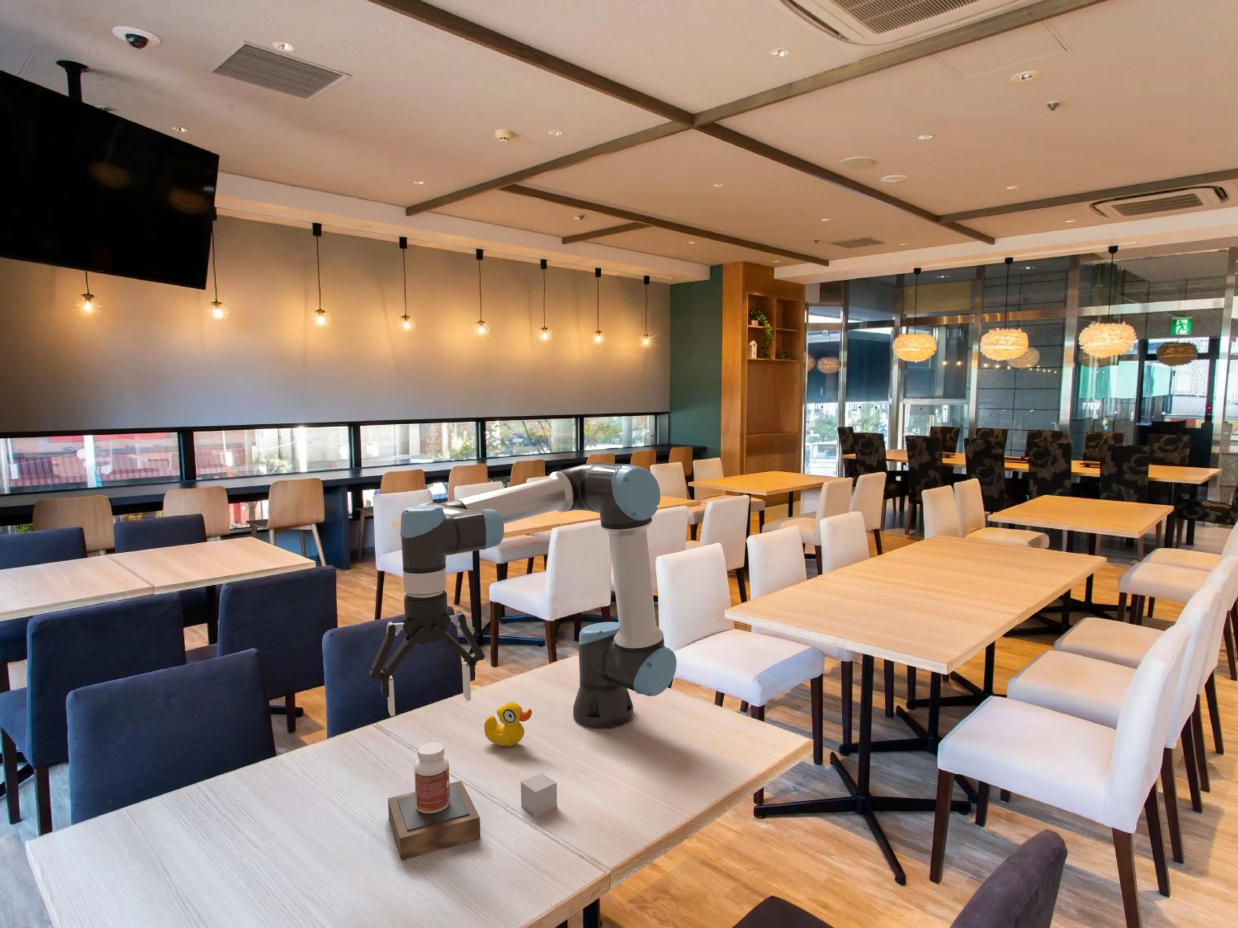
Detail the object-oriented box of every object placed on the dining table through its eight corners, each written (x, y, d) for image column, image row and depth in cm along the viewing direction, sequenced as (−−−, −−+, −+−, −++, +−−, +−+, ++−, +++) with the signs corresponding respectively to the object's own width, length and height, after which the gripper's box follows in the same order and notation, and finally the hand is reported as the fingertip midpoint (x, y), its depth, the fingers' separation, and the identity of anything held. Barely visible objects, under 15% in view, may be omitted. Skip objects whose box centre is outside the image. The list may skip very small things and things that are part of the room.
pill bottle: (455, 808, 132) (453, 750, 131) (422, 818, 129) (420, 759, 128) (443, 792, 138) (441, 737, 137) (411, 802, 134) (409, 745, 133)
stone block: (542, 796, 144) (541, 772, 144) (557, 806, 140) (556, 782, 140) (521, 805, 141) (520, 781, 140) (535, 816, 137) (535, 791, 137)
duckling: (536, 741, 167) (535, 699, 166) (528, 752, 162) (527, 709, 161) (489, 737, 169) (488, 696, 168) (481, 748, 164) (479, 706, 163)
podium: (461, 799, 143) (461, 778, 143) (480, 837, 130) (479, 815, 130) (388, 818, 137) (387, 796, 136) (400, 860, 124) (399, 836, 124)
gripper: (487, 578, 138) (491, 685, 140) (349, 596, 127) (355, 711, 130) (498, 587, 132) (502, 699, 134) (354, 607, 121) (360, 728, 123)
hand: (430, 705), depth 132 cm, fingers open, 13 cm apart
